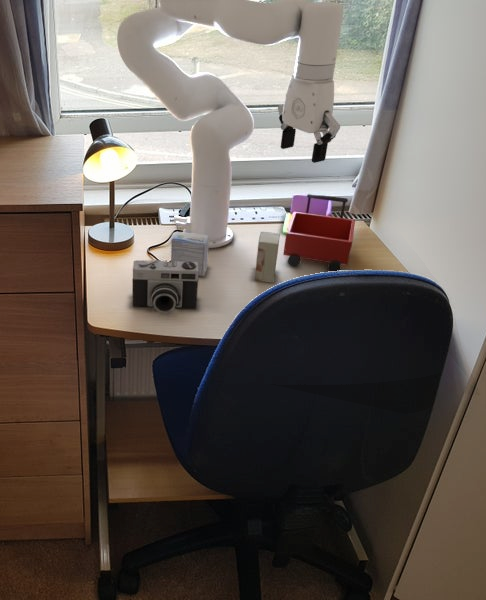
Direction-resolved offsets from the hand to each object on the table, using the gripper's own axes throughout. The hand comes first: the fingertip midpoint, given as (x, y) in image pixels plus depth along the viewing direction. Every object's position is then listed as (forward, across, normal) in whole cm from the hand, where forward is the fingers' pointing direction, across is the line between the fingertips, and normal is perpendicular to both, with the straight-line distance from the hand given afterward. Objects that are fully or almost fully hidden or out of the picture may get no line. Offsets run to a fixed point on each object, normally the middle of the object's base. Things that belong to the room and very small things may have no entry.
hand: (302, 154), depth 135 cm
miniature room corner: (+27, -12, +18) cm, 34 cm away
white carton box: (+27, +2, -8) cm, 28 cm away
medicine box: (+27, -8, -22) cm, 36 cm away
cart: (+27, 0, +9) cm, 28 cm away
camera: (+27, +2, -35) cm, 44 cm away
